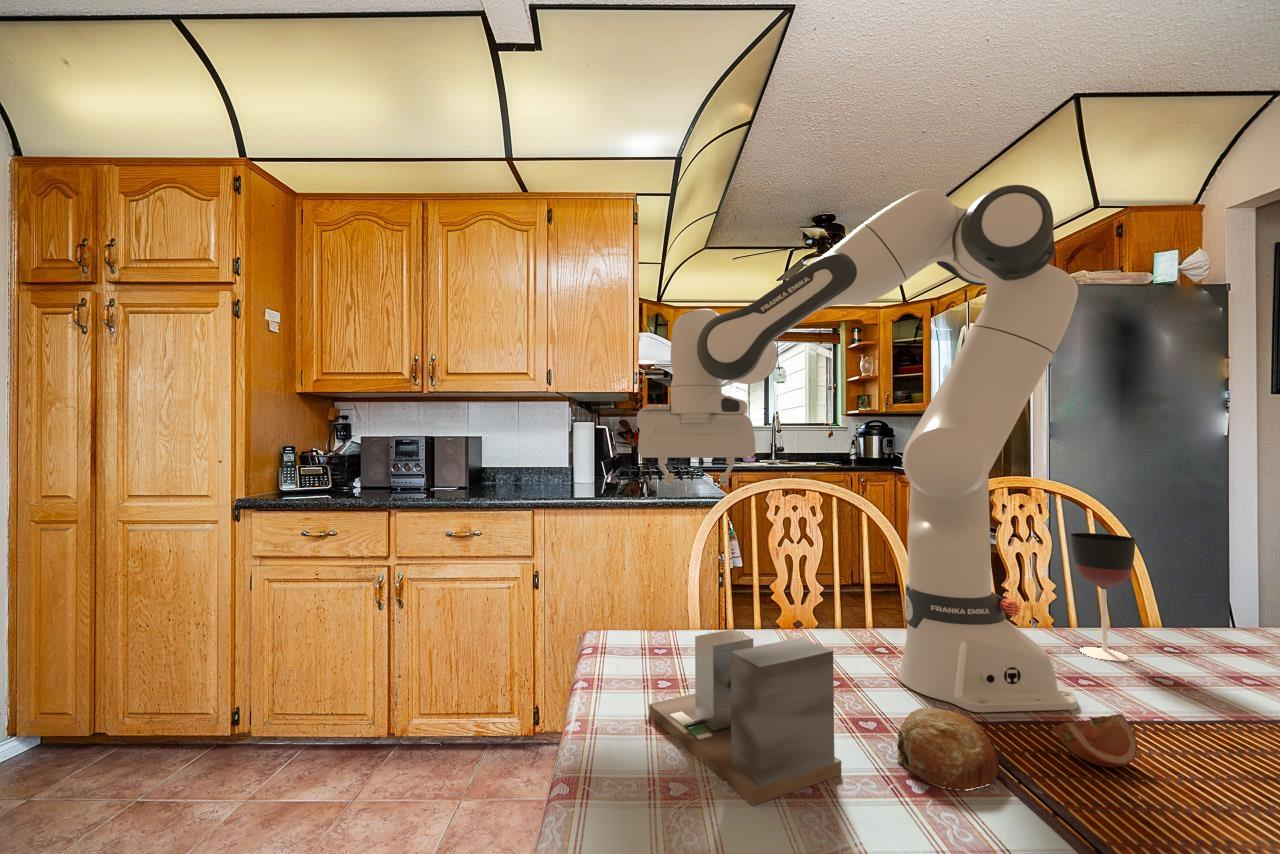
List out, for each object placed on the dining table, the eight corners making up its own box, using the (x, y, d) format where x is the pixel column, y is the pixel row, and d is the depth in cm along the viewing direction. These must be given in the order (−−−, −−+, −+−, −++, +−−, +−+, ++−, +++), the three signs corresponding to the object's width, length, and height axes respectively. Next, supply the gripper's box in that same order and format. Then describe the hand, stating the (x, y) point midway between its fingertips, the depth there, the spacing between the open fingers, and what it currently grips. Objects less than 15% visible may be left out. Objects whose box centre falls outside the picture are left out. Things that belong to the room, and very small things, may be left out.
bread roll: (896, 776, 70) (867, 716, 70) (969, 735, 71) (941, 676, 71) (946, 830, 61) (913, 760, 60) (1030, 782, 61) (997, 713, 61)
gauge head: (677, 721, 72) (677, 639, 73) (734, 707, 76) (734, 629, 77) (709, 747, 66) (709, 657, 67) (769, 730, 70) (769, 645, 70)
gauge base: (649, 715, 78) (649, 613, 79) (723, 697, 84) (723, 601, 84) (753, 805, 59) (751, 668, 59) (841, 774, 64) (839, 649, 64)
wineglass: (1073, 643, 106) (1070, 531, 107) (1136, 652, 101) (1132, 536, 102) (1073, 655, 100) (1070, 537, 100) (1140, 667, 95) (1137, 542, 95)
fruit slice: (1090, 781, 63) (1089, 734, 63) (1036, 749, 69) (1035, 706, 70) (1153, 772, 65) (1152, 726, 65) (1094, 742, 71) (1093, 700, 71)
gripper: (634, 404, 101) (634, 485, 100) (755, 402, 98) (756, 485, 97) (639, 406, 107) (639, 482, 106) (753, 405, 104) (754, 483, 104)
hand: (696, 484), depth 102 cm, fingers open, 8 cm apart
